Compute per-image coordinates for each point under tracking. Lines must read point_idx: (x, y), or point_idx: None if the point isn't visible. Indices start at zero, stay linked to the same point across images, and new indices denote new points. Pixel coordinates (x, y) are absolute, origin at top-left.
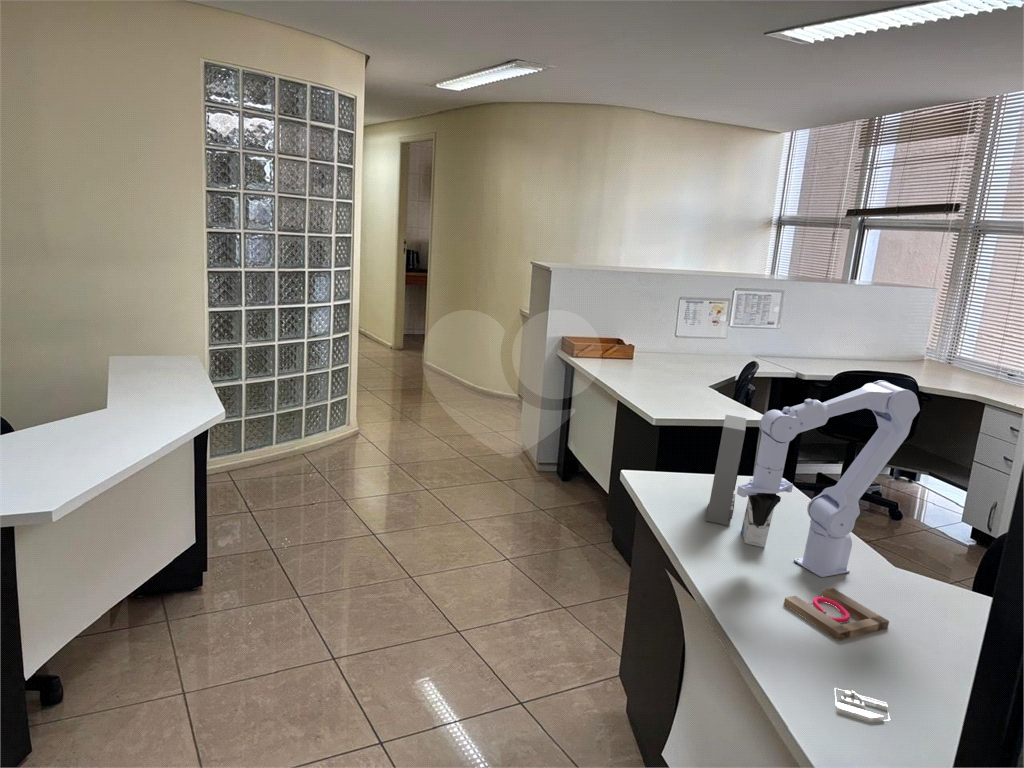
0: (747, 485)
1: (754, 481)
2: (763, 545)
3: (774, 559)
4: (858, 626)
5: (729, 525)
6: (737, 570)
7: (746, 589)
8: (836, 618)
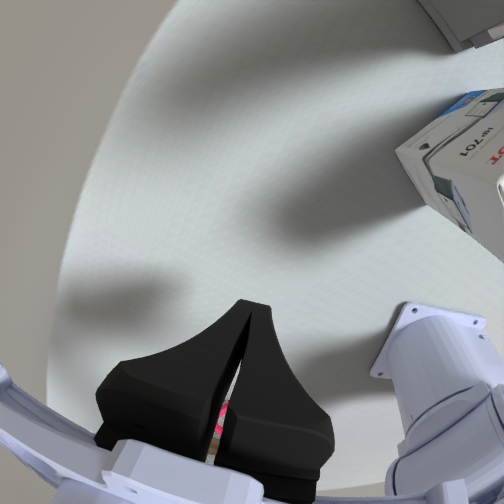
0: (5, 438)
1: (51, 500)
2: (426, 202)
3: (372, 266)
4: (214, 453)
5: (455, 52)
6: (194, 249)
7: (143, 310)
8: (215, 431)
